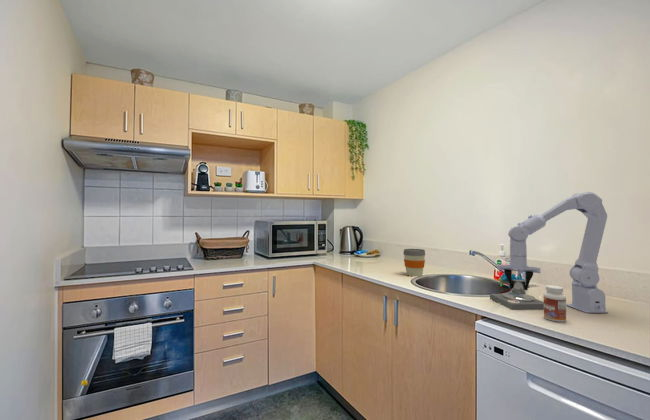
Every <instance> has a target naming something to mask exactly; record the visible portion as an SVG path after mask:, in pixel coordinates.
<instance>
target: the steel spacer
mask: <svg viewBox="0 0 650 420" xmlns="http://www.w3.org/2000/svg"><path fill="white" fill-rule="evenodd" d="M523 280H524V279H523ZM523 280H521V279H519V280H512V289H511V293H515V294H527V293H526V290H525V285H526V280H524V281H523Z"/></svg>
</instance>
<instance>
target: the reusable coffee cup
mask: <svg viewBox="0 0 650 420" xmlns="http://www.w3.org/2000/svg"><path fill="white" fill-rule="evenodd" d="M402 253H403V257H404V258H403V261H404V263H403V264H404V267H405V271H406V275H407V276H408V275H410V276H409V277H413V276H420V277H423V273H424V268H425V263H426V259H425V256H426V250H425V249H420V248H405V249H403V252H402Z"/></svg>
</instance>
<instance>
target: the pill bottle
mask: <svg viewBox="0 0 650 420" xmlns="http://www.w3.org/2000/svg"><path fill="white" fill-rule="evenodd" d="M545 290H546V291H545V292H544V293H543V302H544V309H543V317H544V319H546V320H548V321H552V322H558V323H563V322H566V321H567V305H566V304H567V296H566V295H565V294H564V287H562V286H557V285H551V284H550V285H549V284H547V285H545Z"/></svg>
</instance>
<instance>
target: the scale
mask: <svg viewBox="0 0 650 420" xmlns="http://www.w3.org/2000/svg"><path fill="white" fill-rule="evenodd" d="M489 299H491V300H492V301H495V302H497V303H498V304H499V305H502V306H504V307H506V308H508V309H510V310H517V311H520V310H522V311H523V310H544V300H543V301H542V300H540V299H537V298H536V297H535V296H533V295H531V294H527V293H526V294H515V293H512V292H505V293H490V294H489Z"/></svg>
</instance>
